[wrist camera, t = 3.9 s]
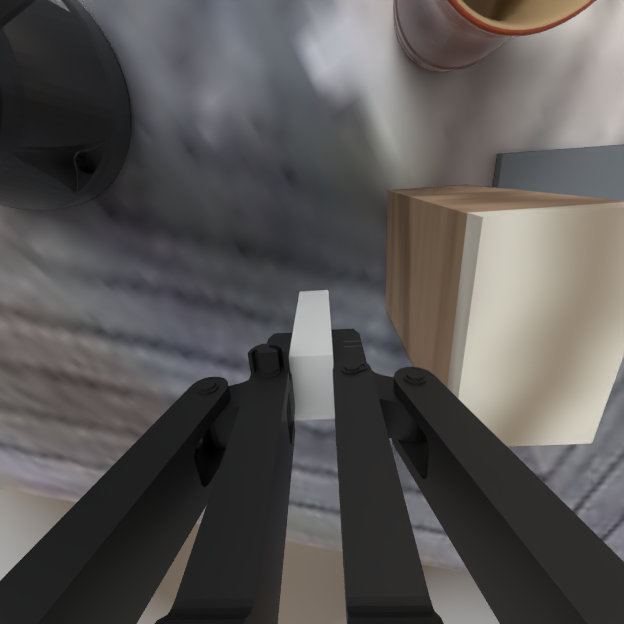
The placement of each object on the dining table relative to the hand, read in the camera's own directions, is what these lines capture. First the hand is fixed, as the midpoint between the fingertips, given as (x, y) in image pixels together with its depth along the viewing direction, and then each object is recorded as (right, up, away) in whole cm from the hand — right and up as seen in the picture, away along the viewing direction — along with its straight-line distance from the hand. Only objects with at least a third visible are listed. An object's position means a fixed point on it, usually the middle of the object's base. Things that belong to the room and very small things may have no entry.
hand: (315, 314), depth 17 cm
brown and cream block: (+9, +5, +10) cm, 14 cm away
